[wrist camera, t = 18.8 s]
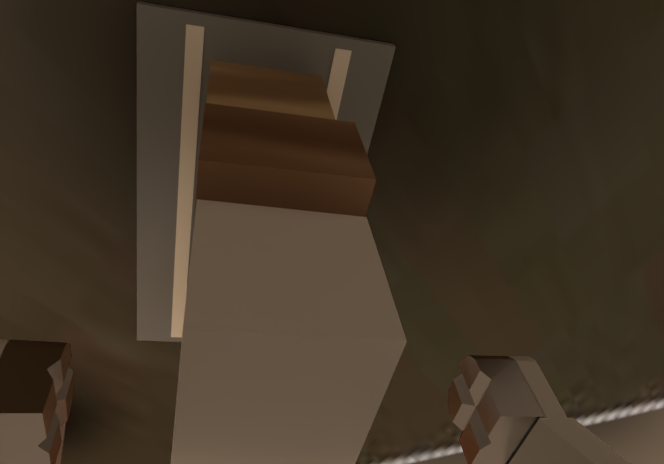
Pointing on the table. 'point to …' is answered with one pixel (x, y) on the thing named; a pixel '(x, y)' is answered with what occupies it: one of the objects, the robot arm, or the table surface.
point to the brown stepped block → (279, 144)
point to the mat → (187, 119)
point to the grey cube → (282, 337)
